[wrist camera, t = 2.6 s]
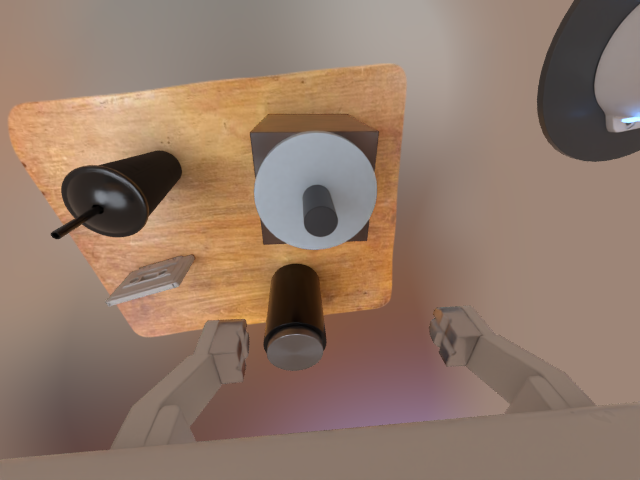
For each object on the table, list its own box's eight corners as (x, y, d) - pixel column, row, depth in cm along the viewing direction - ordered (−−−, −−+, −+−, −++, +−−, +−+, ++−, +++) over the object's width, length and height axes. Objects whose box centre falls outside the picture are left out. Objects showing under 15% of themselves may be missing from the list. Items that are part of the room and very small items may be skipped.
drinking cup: (135, 185, 39) (8, 263, 22) (134, 132, 36) (-17, 176, 18) (189, 198, 41) (111, 281, 24) (194, 150, 37) (106, 205, 20)
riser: (347, 114, 37) (379, 131, 23) (343, 190, 42) (367, 241, 28) (267, 114, 36) (249, 132, 22) (274, 191, 41) (263, 244, 28)
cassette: (191, 251, 46) (174, 279, 39) (197, 260, 46) (181, 289, 40) (128, 270, 46) (101, 300, 40) (135, 278, 47) (109, 309, 41)
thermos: (319, 262, 49) (328, 329, 35) (319, 299, 53) (326, 371, 40) (269, 264, 48) (258, 333, 35) (273, 302, 53) (265, 375, 40)
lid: (380, 129, 23) (406, 143, 17) (368, 241, 28) (384, 278, 23) (248, 131, 22) (232, 145, 17) (262, 245, 28) (254, 284, 22)
